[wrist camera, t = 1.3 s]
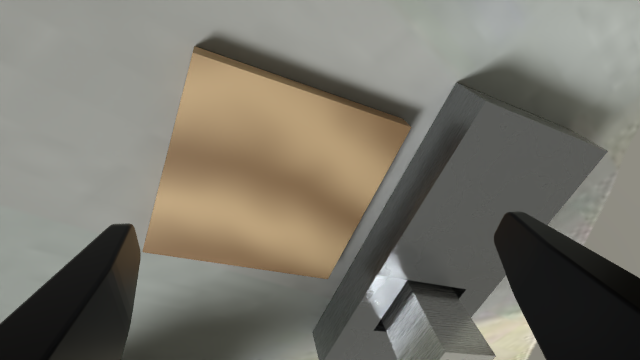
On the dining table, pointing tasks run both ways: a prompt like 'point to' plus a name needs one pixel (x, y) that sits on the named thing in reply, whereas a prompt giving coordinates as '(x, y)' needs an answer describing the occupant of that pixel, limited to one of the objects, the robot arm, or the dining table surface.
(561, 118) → the dining table surface
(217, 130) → the oak pad
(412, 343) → the brushed metal block
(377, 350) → the rail
